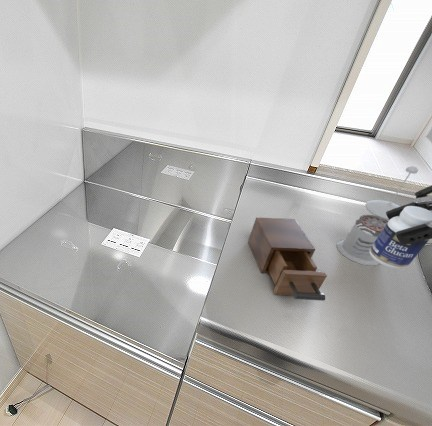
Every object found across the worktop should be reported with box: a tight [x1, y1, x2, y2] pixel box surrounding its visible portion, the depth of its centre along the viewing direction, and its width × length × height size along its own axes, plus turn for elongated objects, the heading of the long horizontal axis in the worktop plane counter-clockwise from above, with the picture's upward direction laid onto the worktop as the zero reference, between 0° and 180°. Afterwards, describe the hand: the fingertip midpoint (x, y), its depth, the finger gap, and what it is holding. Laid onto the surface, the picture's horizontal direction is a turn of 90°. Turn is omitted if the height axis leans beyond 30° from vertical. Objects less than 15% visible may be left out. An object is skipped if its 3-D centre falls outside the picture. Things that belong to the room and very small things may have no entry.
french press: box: [336, 165, 419, 266], centre depth 70 cm, size 10×12×25 cm
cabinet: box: [247, 217, 316, 275], centre depth 74 cm, size 12×10×9 cm
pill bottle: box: [369, 206, 432, 270], centre depth 48 cm, size 5×5×10 cm
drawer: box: [267, 250, 328, 302], centre depth 66 cm, size 15×8×7 cm, turn 175°
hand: (393, 227), depth 48 cm, fingers closed on pill bottle, 5 cm apart
